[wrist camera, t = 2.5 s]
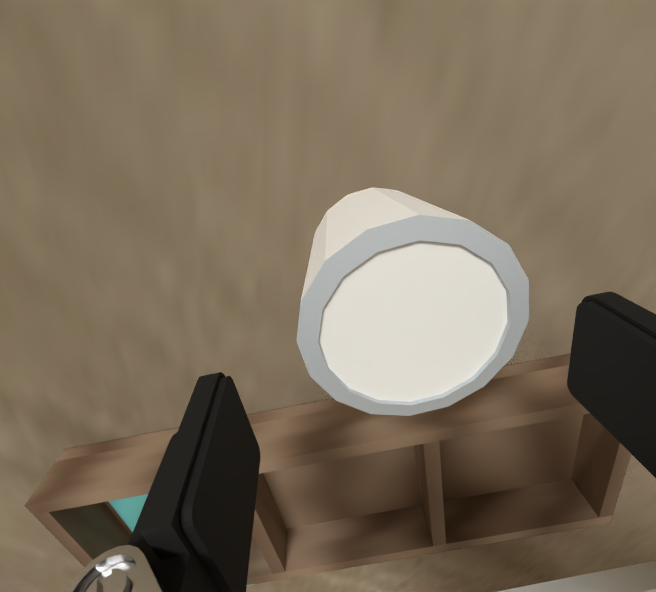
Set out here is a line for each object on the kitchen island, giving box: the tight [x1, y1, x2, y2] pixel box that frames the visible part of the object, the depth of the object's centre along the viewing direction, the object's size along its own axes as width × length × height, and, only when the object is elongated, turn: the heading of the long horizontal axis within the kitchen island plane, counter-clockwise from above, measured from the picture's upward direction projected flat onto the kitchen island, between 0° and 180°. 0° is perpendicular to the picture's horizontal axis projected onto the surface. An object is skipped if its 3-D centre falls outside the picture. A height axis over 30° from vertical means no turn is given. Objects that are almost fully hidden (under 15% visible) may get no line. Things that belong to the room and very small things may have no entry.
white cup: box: [297, 187, 529, 416], centre depth 13 cm, size 7×7×7 cm
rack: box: [25, 354, 631, 586], centre depth 22 cm, size 31×12×3 cm, turn 101°
